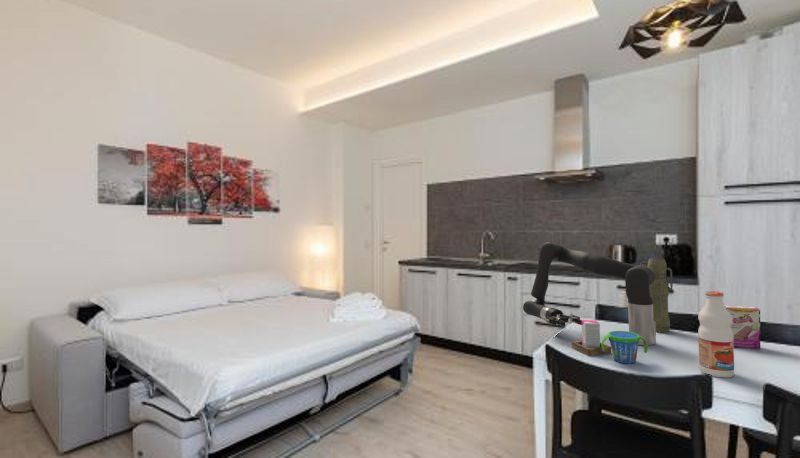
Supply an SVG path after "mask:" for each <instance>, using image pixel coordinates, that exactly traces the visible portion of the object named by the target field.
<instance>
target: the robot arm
mask: <svg viewBox="0 0 800 458" xmlns="http://www.w3.org/2000/svg"><path fill="white" fill-rule="evenodd" d="M552 262H559V263H560V262H561V263H566V264H569V265H571V266H573V267H575V268H577V269H579V270H581V271H585V272H588V273H591V274H594V275H599V276H606V277H615V278H620V279H622V280H623V279H624V281H625V282H624V284H625V295H626V298H627V308H628V309H627V310H628V313H627V316H628V332H633V333H636V334H638V335H639V336H641V337H642V338H644V339H645V341H646V343H647V346H653V345H655V344H657V332H656V322H655V321H653V298H652V297H651V296H650V290H649V285H651V284H652V283H653V282H654V281H655V274H654V272H653V271H652V270H651V269H650V268H648V266H645V265H639V264H633V263H627V262H622V261H619V260H616V259H613V258H611V257H607V256H604V255H601V254H596V253H594V252H589V251H583V250H575V249H572V248H569V247H566V246H563V245H560V244H559V243H554V242H551V241H549V242H548V241H547V242H545V243H543V244H542V245H541V247H540V250H539V255H538V262H537V263H538V264H537V269H536V275H535V278H534V282H533V285H532V288H531V292H530V295H531V297H532V298H535V299H536V301H532V300H527V301H525V302H524V303H523V305H522V309H523V311H524V313H525V314H527V315H529V316H533V317H537V318H539V319H540V320H543V321H545V322H546V323H548V324H550V325H551V326H561V327H566V324H576V325H580V326H582V320H583V319H581V317H580V316H578V315H575V314H572V313H571V314H564V312H563V311H562V310H560V309H558V308H555V307H552V306H548V305H545V302H546V294H547V290H548V288H549V281H550V279H549V272H550V268H551V264H552ZM638 346H644V342H643V340H642V339H640V340H639V343H638Z"/></svg>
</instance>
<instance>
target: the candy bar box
mask: <svg viewBox="0 0 800 458" xmlns="http://www.w3.org/2000/svg"><path fill="white" fill-rule="evenodd" d="M724 306H725V308H726V310H727V311H728V312H729V313H730V314H731V316H732V324H731V330H732V332H733V339H734V340H733V343H734V348H739V349H740V348H741V349H742V348H743V349H751V350H752V349H753V350H754V349H756V350H761V309H760V308H757V307H756V306H742V305H725V304H724Z"/></svg>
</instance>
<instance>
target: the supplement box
mask: <svg viewBox="0 0 800 458" xmlns="http://www.w3.org/2000/svg"><path fill="white" fill-rule="evenodd" d="M581 320H582V325H581V341H582V346H585V347H587V348H596V347H600V343H601V338H600V337H601V333H600V332H601V331H600V330H601V325H600V322H598V321H596V320H592V319H591V320H590V319H589V320H588V319H581Z"/></svg>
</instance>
